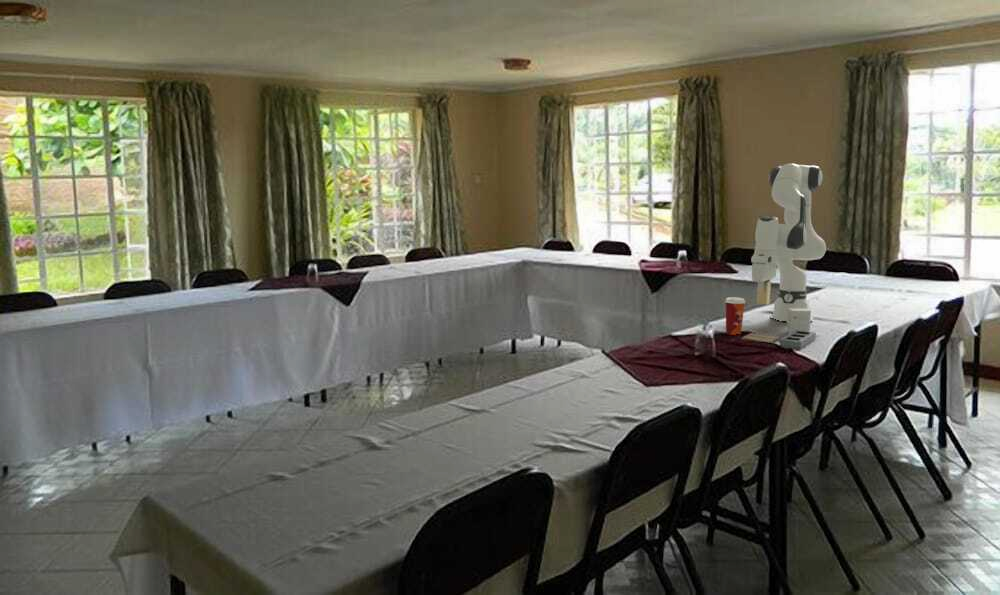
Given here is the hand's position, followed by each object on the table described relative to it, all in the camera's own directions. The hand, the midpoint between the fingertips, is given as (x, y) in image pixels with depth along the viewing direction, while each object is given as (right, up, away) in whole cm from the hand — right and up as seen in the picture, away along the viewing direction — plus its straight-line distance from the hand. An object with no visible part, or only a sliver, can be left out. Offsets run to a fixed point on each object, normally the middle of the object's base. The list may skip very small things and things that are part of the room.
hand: (763, 290), depth 312 cm
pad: (0, -20, +3) cm, 20 cm away
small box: (+20, -18, +15) cm, 31 cm away
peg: (0, -5, +1) cm, 5 cm away
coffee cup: (-8, -18, +15) cm, 25 cm away
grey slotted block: (+13, -21, -3) cm, 25 cm away
